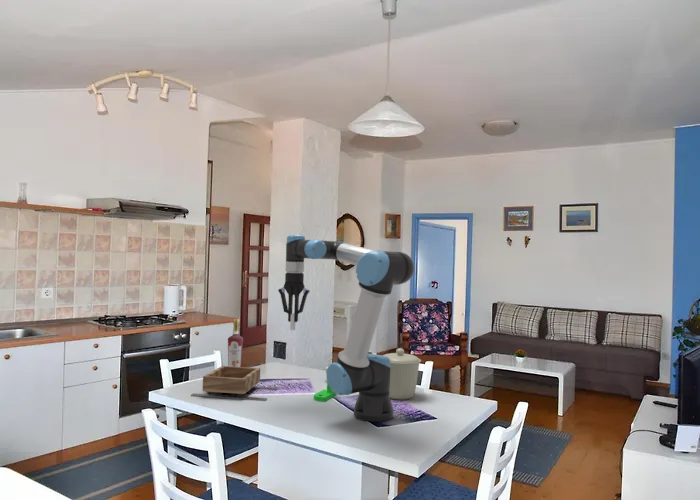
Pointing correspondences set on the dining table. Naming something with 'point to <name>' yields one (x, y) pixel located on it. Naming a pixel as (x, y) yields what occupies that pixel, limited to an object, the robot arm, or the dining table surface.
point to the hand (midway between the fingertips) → (292, 329)
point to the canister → (403, 374)
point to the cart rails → (237, 396)
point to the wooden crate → (231, 380)
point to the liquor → (235, 346)
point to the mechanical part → (324, 394)
